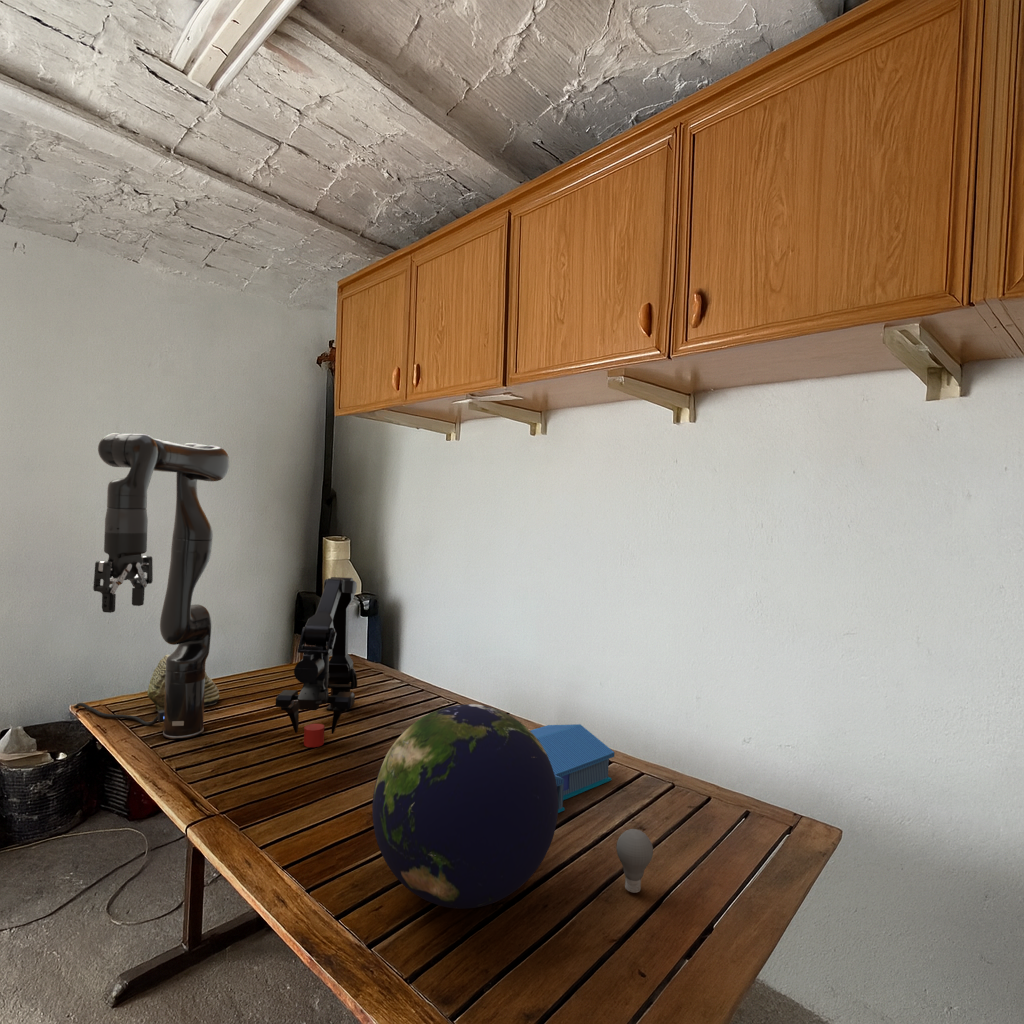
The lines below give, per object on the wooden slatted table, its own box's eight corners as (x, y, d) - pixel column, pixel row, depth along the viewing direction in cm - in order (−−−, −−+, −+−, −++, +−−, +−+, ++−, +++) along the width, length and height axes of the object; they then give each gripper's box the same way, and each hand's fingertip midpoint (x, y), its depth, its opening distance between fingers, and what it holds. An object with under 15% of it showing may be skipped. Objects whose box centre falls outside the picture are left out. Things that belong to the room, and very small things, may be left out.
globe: (328, 919, 95) (336, 721, 95) (427, 827, 123) (434, 674, 122) (512, 985, 84) (522, 760, 83) (576, 867, 112) (584, 698, 111)
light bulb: (610, 879, 108) (613, 822, 108) (644, 879, 109) (647, 822, 109) (619, 902, 102) (622, 840, 102) (655, 901, 103) (658, 840, 103)
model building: (493, 841, 119) (496, 788, 119) (420, 792, 137) (422, 747, 137) (623, 784, 145) (625, 741, 145) (547, 750, 164) (548, 712, 163)
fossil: (144, 707, 182) (145, 655, 182) (212, 696, 194) (213, 647, 194) (151, 716, 175) (153, 662, 175) (221, 703, 188) (223, 653, 188)
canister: (299, 744, 161) (300, 727, 161) (313, 738, 165) (314, 722, 165) (314, 748, 158) (314, 731, 158) (327, 742, 163) (328, 725, 163)
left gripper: (118, 532, 123) (116, 616, 123) (165, 529, 137) (162, 604, 137) (82, 531, 124) (80, 613, 124) (132, 528, 138) (130, 602, 138)
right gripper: (269, 679, 153) (266, 743, 153) (346, 682, 154) (344, 746, 154) (283, 667, 164) (281, 727, 165) (356, 670, 165) (353, 729, 165)
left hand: (123, 608), depth 131 cm, fingers open, 8 cm apart
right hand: (314, 732), depth 162 cm, fingers open, 9 cm apart
